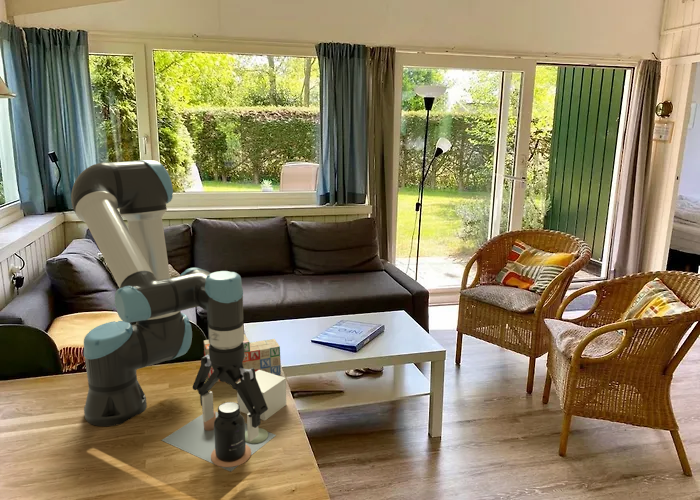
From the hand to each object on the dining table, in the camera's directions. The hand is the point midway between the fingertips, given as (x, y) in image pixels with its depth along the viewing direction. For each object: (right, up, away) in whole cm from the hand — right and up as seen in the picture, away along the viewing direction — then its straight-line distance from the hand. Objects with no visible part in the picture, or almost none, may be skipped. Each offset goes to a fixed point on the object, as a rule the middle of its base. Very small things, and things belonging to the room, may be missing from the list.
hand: (230, 428), depth 125 cm
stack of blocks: (-5, +2, +40) cm, 40 cm away
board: (-4, -6, +8) cm, 10 cm away
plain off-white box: (+4, -2, +21) cm, 21 cm away
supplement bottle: (0, -6, +1) cm, 6 cm away
